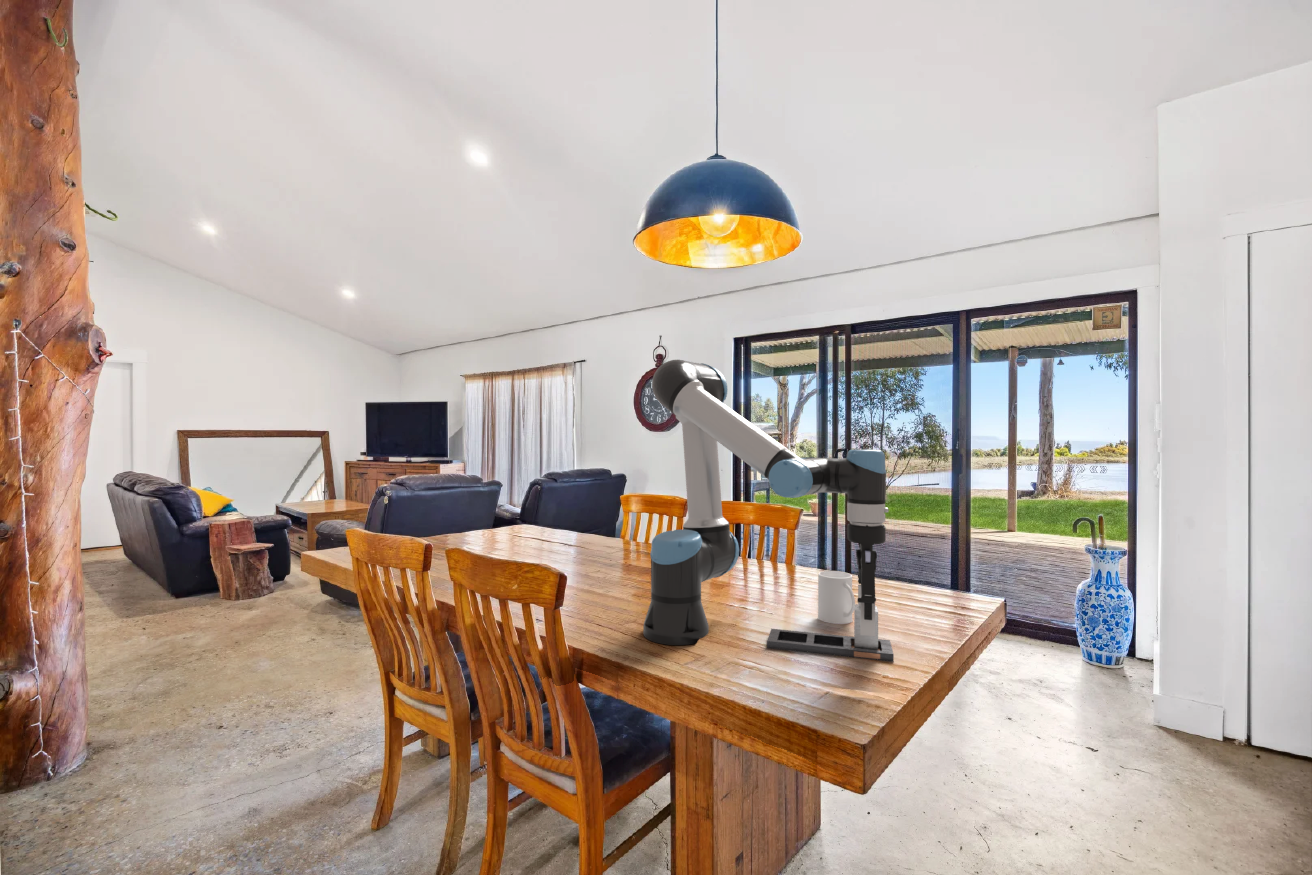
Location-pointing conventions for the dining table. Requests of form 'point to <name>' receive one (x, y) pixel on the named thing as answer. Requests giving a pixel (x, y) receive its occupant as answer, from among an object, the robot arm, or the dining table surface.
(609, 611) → the dining table surface
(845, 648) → the tray with compartments
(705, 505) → the robot arm
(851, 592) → the mug
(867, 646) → the grey block with knob
